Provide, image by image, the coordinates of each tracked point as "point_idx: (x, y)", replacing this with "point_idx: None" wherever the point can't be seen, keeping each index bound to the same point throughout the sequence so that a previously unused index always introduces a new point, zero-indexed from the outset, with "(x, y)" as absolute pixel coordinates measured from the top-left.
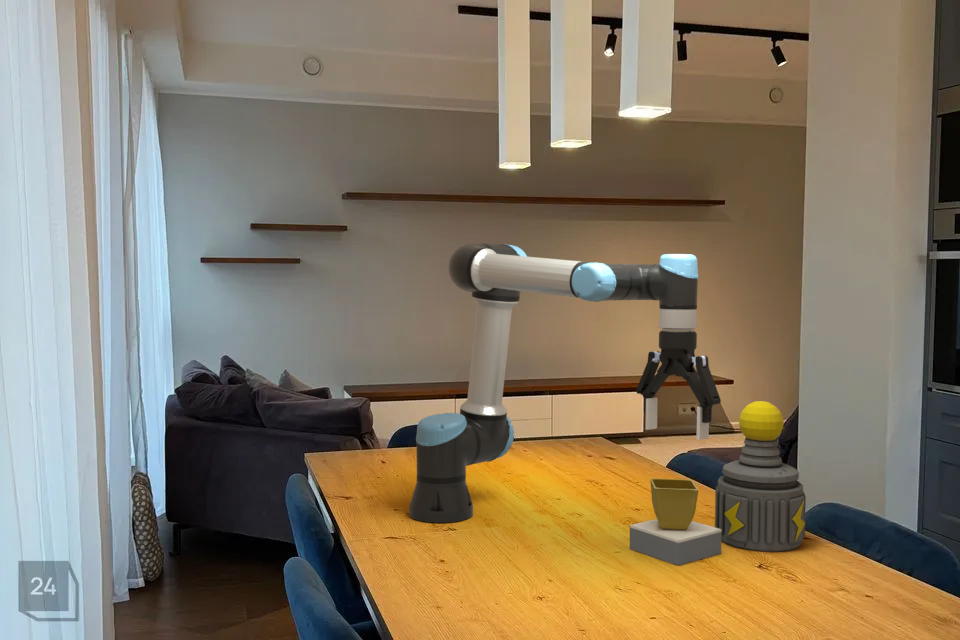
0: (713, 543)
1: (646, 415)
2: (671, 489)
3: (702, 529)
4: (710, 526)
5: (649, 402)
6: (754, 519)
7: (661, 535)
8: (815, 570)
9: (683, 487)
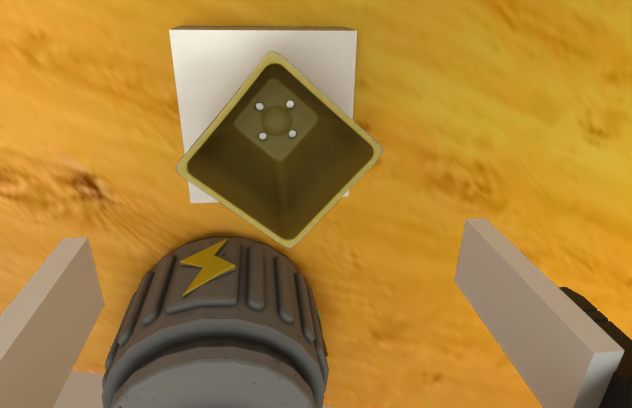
0: None
1: (525, 262)
2: (233, 98)
3: None
4: None
5: (567, 337)
6: (158, 284)
7: (234, 30)
8: (17, 252)
9: (301, 215)
